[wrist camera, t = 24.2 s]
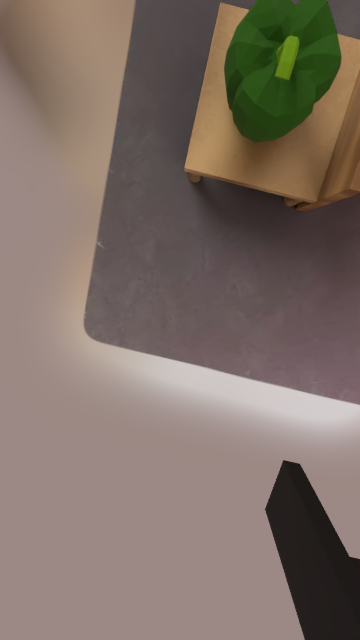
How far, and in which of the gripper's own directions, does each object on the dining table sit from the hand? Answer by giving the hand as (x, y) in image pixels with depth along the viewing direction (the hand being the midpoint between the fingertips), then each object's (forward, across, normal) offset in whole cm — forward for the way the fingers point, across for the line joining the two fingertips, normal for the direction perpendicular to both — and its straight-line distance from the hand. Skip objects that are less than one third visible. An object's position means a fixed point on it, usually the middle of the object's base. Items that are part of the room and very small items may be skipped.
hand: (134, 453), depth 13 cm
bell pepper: (+21, +4, +24) cm, 32 cm away
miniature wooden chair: (+27, +5, +24) cm, 36 cm away
